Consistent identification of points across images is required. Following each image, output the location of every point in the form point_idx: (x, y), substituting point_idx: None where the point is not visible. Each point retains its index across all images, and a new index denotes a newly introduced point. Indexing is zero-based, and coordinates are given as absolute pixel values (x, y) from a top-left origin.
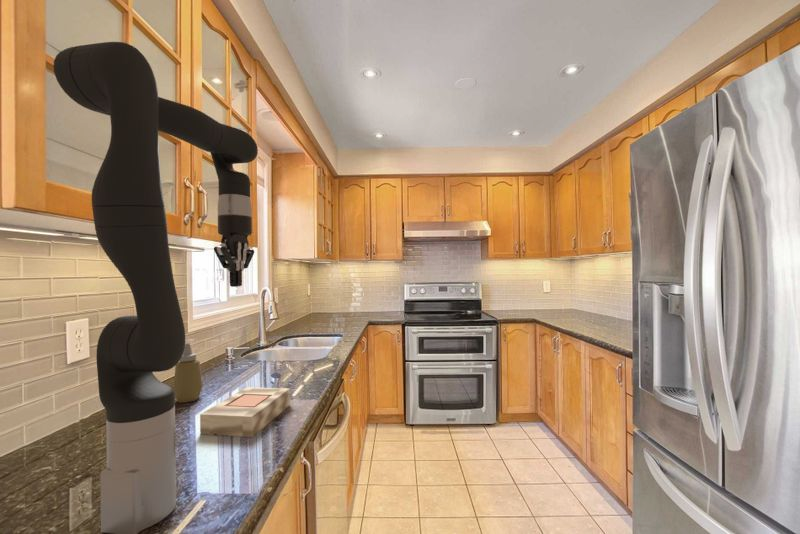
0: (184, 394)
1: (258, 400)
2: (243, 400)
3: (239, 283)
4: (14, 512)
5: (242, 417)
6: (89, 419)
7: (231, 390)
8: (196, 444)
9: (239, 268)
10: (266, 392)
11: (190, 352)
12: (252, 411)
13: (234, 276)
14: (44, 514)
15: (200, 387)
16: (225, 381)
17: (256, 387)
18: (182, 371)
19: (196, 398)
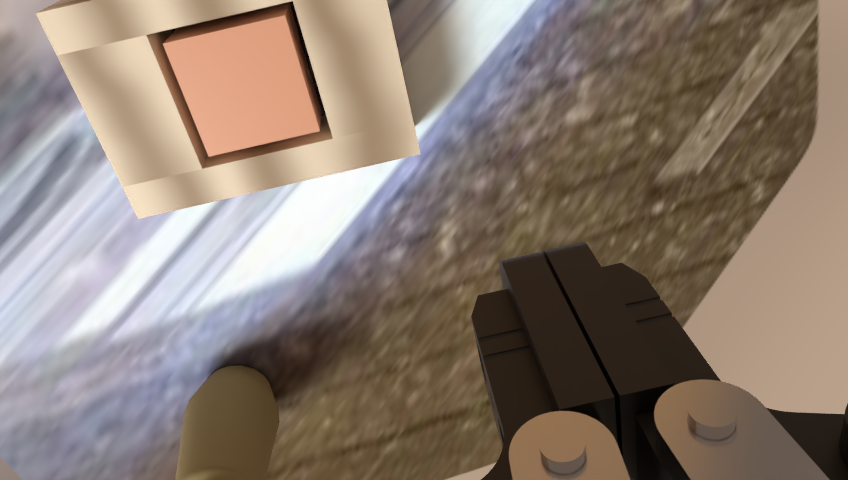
0: (265, 389)
1: (227, 47)
2: (256, 110)
3: (563, 261)
4: (777, 179)
5: None
6: (442, 469)
7: (97, 340)
8: (467, 79)
9: (669, 425)
10: (139, 86)
11: None
12: None
13: (685, 336)
14: (781, 115)
15: (209, 388)
16: (47, 430)
17: (118, 178)
18: (257, 460)
19: (227, 367)
